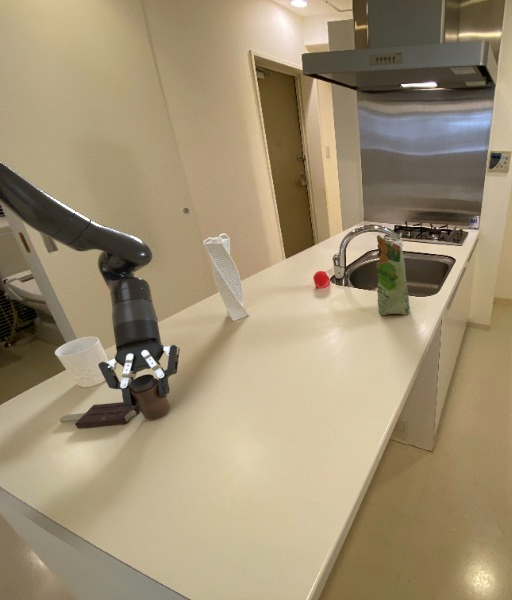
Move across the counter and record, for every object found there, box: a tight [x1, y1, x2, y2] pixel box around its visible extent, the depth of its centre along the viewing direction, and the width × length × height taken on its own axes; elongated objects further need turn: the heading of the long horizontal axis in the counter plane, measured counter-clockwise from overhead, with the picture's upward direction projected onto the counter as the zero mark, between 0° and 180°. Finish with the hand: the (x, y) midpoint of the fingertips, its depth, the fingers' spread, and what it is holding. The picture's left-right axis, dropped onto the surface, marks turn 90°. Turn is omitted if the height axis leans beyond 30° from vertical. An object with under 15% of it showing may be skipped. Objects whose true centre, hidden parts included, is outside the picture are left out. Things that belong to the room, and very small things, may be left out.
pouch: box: [376, 234, 411, 316], centre depth 103 cm, size 11×12×25 cm
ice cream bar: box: [58, 401, 141, 430], centre depth 69 cm, size 5×2×15 cm
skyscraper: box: [202, 232, 250, 322], centre depth 101 cm, size 8×8×28 cm
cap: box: [312, 270, 331, 290], centre depth 126 cm, size 8×6×6 cm
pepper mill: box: [130, 373, 171, 420], centre depth 68 cm, size 5×5×8 cm
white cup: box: [54, 335, 110, 388], centre depth 79 cm, size 8×8×10 cm
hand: (148, 401), depth 67 cm, fingers closed on pepper mill, 5 cm apart
